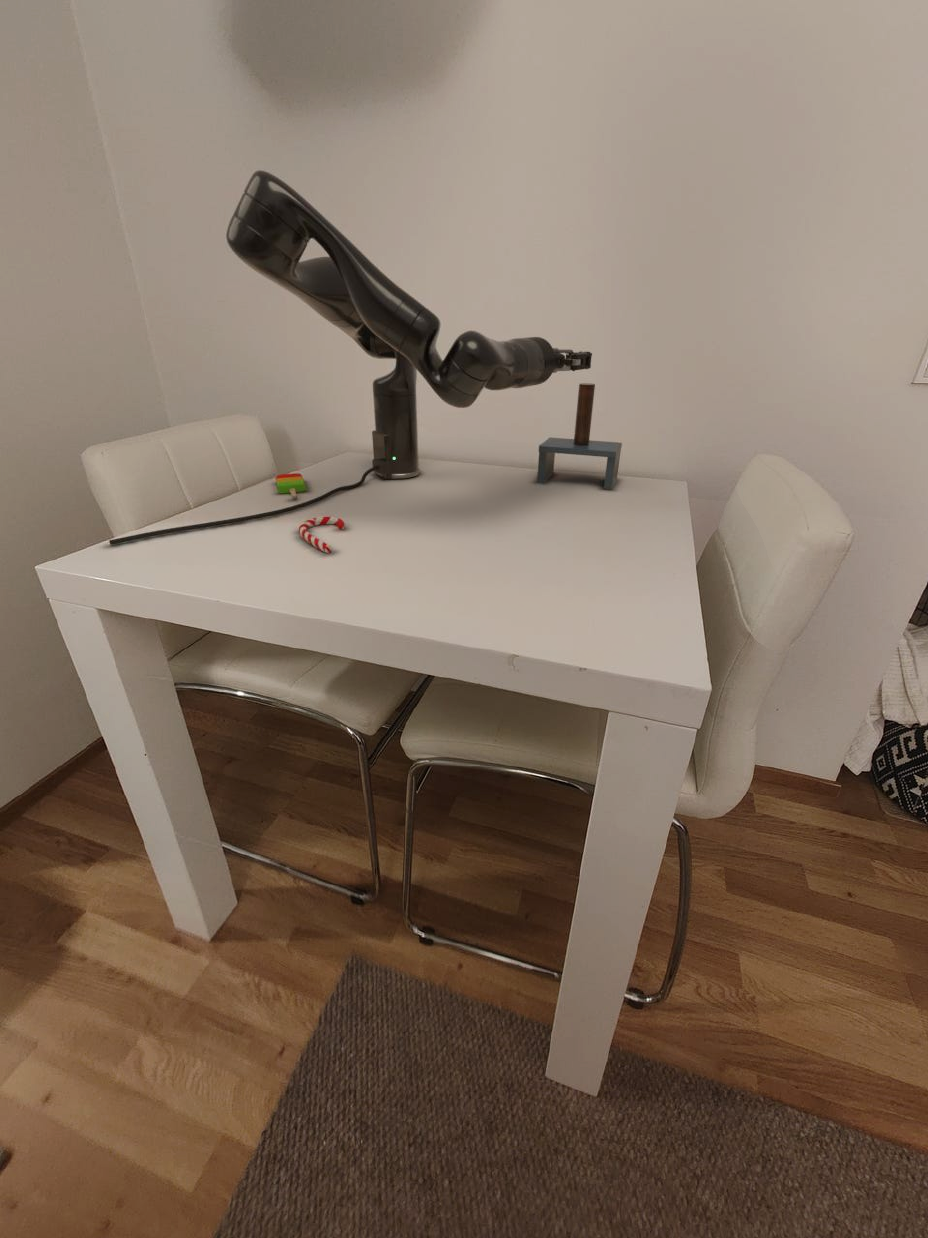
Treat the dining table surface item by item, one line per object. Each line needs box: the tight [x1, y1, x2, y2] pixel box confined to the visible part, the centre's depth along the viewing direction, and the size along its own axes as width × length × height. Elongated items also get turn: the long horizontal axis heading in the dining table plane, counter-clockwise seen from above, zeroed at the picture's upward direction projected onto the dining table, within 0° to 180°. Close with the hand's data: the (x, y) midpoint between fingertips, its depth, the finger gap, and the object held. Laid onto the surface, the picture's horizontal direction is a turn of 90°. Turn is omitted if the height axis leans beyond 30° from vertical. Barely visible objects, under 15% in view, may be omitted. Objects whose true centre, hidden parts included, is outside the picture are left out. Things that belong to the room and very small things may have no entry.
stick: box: [573, 382, 596, 446], centre depth 119 cm, size 3×3×12 cm
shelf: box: [536, 437, 623, 491], centre depth 124 cm, size 10×16×8 cm, turn 69°
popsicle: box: [275, 472, 307, 498], centre depth 117 cm, size 6×15×2 cm, turn 19°
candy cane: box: [298, 516, 346, 554], centre depth 93 cm, size 8×1×15 cm
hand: (567, 356), depth 106 cm, fingers open, 8 cm apart
